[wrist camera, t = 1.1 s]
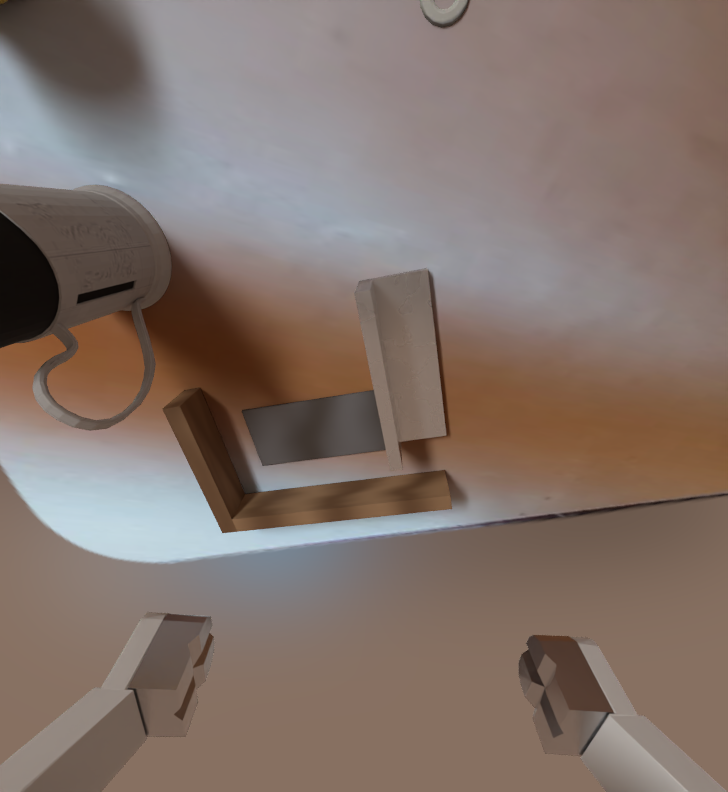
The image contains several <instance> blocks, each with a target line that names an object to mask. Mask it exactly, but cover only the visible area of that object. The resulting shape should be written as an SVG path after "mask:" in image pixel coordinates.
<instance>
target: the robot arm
mask: <svg viewBox="0 0 728 792" xmlns="http://www.w3.org/2000/svg"><path fill="white" fill-rule="evenodd" d="M211 627H212V621H211V617H210V616H195V615H179V614H169V613H152V612H148V613H146V614H145V615H144V617H143V618H142V619H141V620H140V621H139V624H138V625H137V627H136V629H135V630H134V632H133V633H132V635H131V637H130V639H129V641H128V642H127V644H126V646H125V647H124V649H123V651H122V653H121V654H120V656H119V658H118V660H117V661H116V663H115V665H114V666H113V668H112V670H111V672H110V674H109V675H108V677H107V679H106V680H105V682H104V684H103V685H102V687H101V688H93V689H92V690H91V691H90V692H88V693H87V694H86V695H85V696H84V697H82V698H81V699H80V700H79V701H78V702H76V703H75V704H74V705H73V706H71V707H70V708H69V709H68V710H67V711H65V712H64V713H63V714H62V715H61V716H59V717H58V718H57V719H56V720H54V721H53V722H52V723H51V724H50V725H49V726H47V727H46V728H45V729H44V730H42V731H41V732H40V733H39V734H37V735H36V736H35V737H34V738H33V739H31V740H30V741H29V742H28V743H27V744H25V745H24V746H23V747H22V748H20V749H19V750H18V751H17V752H16V753H14V754H13V755H12V756H11V757H10V758H8V759H7V760H6V761H5V762H3V763H2V764H1V765H0V792H102V790H103V789H104V788H105V787H106V786H107V785H108V783H109V782H110V781H111V780H112V779H113V778H114V777H115V775H116V774H117V773H118V772H119V771H120V770H121V769H122V767H123V766H124V765H125V764H126V763H127V762H128V760H129V759H130V758H131V757H132V756H133V755H134V754H135V753H136V751H137V750H138V749H139V748H140V747H141V746H142V744H143V743H144V742H145V741H146V739H147V737H148V736H149V737H186V735H187V732H188V729H189V726H190V723H191V720H192V718H193V715H194V712H195V710H196V707H197V704H198V699H197V691H196V690H197V688H199V687H200V686H201V684H203V683H204V682H205V681H206V678H207V675H208V672H209V669H210V666H211V662H212V658H213V653H214V637H213V636H212V635H211V634H210V630H211ZM526 644H527V646H528V648H529V650H527V651H526V652H524V653H523V654H522V655H521V657H520V660H519V678H520V683H521V686H522V690H523V693H524V695H525V697H526V699H527V700H528V701H529V702H530V703H531V704H532V705H533V706H534V708H535V710H534V714H533V721H534V724H535V727H536V730H537V733H538V735H539V738H540V741H541V744H542V747H543V750H544V752H545V753H546V754H559V755H571V756H582V757H581V758H580V759H581V760H582V762H583V763H584V764H585V765H586V767H587V768H588V769H589V770H590V772H591V773H592V774H593V776H594V777H595V778H596V779H597V780H598V782H599V783H600V785H601V786H602V787H603V788H604V790H605V791H606V792H727V791H726V790H725V789H724V788H722V787H721V786H720V785H719V784H718V783H717V782H716V781H715V780H714V779H713V778H712V777H710V776H709V775H708V774H707V773H706V772H705V771H704V770H703V769H702V768H701V767H700V766H698V765H697V764H696V763H695V762H694V761H693V760H692V759H691V758H690V757H689V756H688V755H686V754H685V753H684V752H683V751H682V750H681V749H680V748H679V747H678V746H677V745H676V744H674V743H673V742H672V741H671V740H670V739H669V738H668V737H667V736H666V735H665V734H663V733H662V732H661V731H660V730H659V729H658V728H657V727H656V726H655V725H654V724H653V723H652V722H650V721H649V720H648V719H647V718H646V717H645V716H643V715H638V714H637V713H636V711H635V709H634V708H633V706H632V704H631V702H630V701H629V699H628V697H627V695H626V694H625V692H624V690H623V688H622V687H621V685H620V683H619V682H618V680H617V678H616V676H615V675H614V673H613V671H612V669H611V668H610V666H609V664H608V663H607V661H606V659H605V657H604V656H603V654H602V652H601V650H600V649H599V647H598V645H597V644H596V643H595V642H594V641H593V640H592V639H590V638H583V637H569V636H546V635H532V636H530V637H529V639H528V641H527V643H526Z"/></svg>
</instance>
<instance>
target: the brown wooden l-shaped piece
mask: <svg viewBox="0 0 728 792" xmlns="http://www.w3.org/2000/svg"><path fill="white" fill-rule="evenodd" d="M163 411H164V413H165V415H166V417H167V420H168V422H169V424H170V426H171V428H172V430H173V432H174V434H175V436H176V438H177V440H178V442H179V444H180V446H181V448H182V450H183V452H184V455H185V457H186V459H187V461H188V463H189V465H190V467H191V469H192V471H193V473H194V475H195V477H196V479H197V481H198V483H199V485H200V487H201V490H202V492H203V494H204V496H205V498H206V500H207V502H208V504H209V506H210V508H211V510H212V512H213V514H214V516H215V518H216V520H217V522H218V525H219V527H220V529H221V531H222V533H228V532H237V531H247V530H256V529H266V528H275V527H285V526H294V525H304V524H313V523H323V522H332V521H342V520H351V519H361V518H370V517H380V516H389V515H399V514H408V513H418V512H427V511H437V510H446V509H452V504H451V496H450V491H449V487H448V483H447V478H446V474H445V470H442V471H433V472H425V473H416V474H408V475H400V476H391V477H383V478H375V479H366V480H358V481H350V482H341V483H333V484H325V485H316V486H308V487H299V488H291V489H283V490H274V491H266V492H258V493H249V494H245V493H244V490H243V488H242V486H241V483H240V481H239V478H238V476H237V474H236V471H235V469H234V467H233V464H232V462H231V460H230V457H229V455H228V452H227V450H226V448H225V445H224V443H223V441H222V438H221V436H220V434H219V431H218V429H217V427H216V424H215V422H214V419H213V417H212V415H211V412H210V410H209V408H208V405H207V403H206V401H205V398H204V396H203V394H202V391H201V389H200V388H195V389H189V390H184V391H183V392H182V393H181V394H179V395H178V396H177V397H176V398H175V399H174V400H172V401H171V402H170V403H169V404H168V405H166V406H165V407H164V408H163ZM242 413H243V416H244V418H245V421H246V424H247V426H248V429H249V431H250V434H251V437H252V439H253V442H254V445H255V447H256V450H257V452H258V455H259V458H260V460H261V463H262V465H263V466H264V465H272V464H279V463H287V462H295V461H302V460H310V459H318V458H326V457H333V456H341V455H349V454H356V453H364V452H372V451H379V450H386V448H385V443H384V438H383V433H382V428H381V423H380V418H379V413H378V408H377V403H376V398H375V393H374V390H372V391H365V392H359V393H352V394H346V395H339V396H333V397H326V398H319V399H313V400H306V401H300V402H293V403H287V404H280V405H273V406H267V407H260V408H254V409H247V410H242Z"/></svg>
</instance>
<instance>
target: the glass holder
mask: <svg viewBox="0 0 728 792" xmlns="http://www.w3.org/2000/svg"><path fill="white" fill-rule="evenodd" d="M171 269H172V263H171V254H170V250H169V247H168V243H167V241H166V238H165V236H164V234H163V232H162V230H161V228H160V227H159V225H158V223H157V222H156V220H155V219H154V218H153V217H152V215H151V214H150V213H149V212H148V211H147V210H146V209H145V208H144V207H143V206H142V205H141V204H140V203H139V202H138V201H136V200H135V199H133V198H132V197H131V196H129V195H127V194H125V193H123V192H122V191H120V190H117V189H114V188H111V187H108V186H102V185H86V186H82V187H79V188H75V189H74V190H66V189H55V188H43V187H32V186H20V185H9V184H0V348H2V347H5V346H8V345H11V344H14V343H25V342H29V341H33V340H36V339H39V338H42V337H45V336H48V335H51V334H54V335H55V336H56V337H58V338H59V339H60V340H61V341H62V342H63V344H64V345H65V347H66V348H67V351H65V352H63V353H61V354H58V355H56V356H54V357H53V358H51V359H49V360H48V361H46V362H45V363H44V364H43V365H42V366H41V368H40V369H39V370H38V371H37V373H36V374H35V375H34V382H33V392H34V395H35V399H36V401H37V402H38V403H39V405H40V406H41V407H42V409H43V410H44V411H45V412H46V413H48V414H49V415H51V416H52V417H53V418H55V419H56V420H58V421H60V422H62V423H65V424H67V425H69V426H71V427H74V428H79V429H85V430H90V431H91V430H99V429H107V428H109V427H111V426H113V425H115V424H117V423H118V422H120V421H122V420H124V419H125V418H126V417H127V416H128V415H129V414H130V413H132V412H133V411H134V410H135V409H136V408H137V407H138V406H139V405H141V403H142V402H143V400H144V398H145V397H146V395H147V394H148V392H149V390H150V387H151V384H152V380H153V377H154V371H155V365H156V364H155V358H154V353H153V350H152V346H151V342H150V338H149V334H148V331H147V328H146V325H145V322H144V319H143V315H142V311H141V309H144V308H147V307H149V306H151V305H153V304H154V303H156V302H157V301H158V300H159V299H160V298H161V297H162V296H163V294H164V293H165V291H166V289H167V287H168V285H169V282H170V278H171ZM120 310H124V311H132V317H133V321H134V324H135V328H136V331H137V334H138V337H139V340H140V344H141V348H142V352H143V357H144V365H145V371H144V378H143V382H142V386H141V389H140V391H139V393H138V395H137V396H136V398H135V399H134V401H133V403H132V404H131V405H129V406H128V407H127V408H126V409H125V410H124V411H123V412H122V413H120V414H118V415H116V416H114V417H112V418H110V419H103V420H93V419H88V418H84V417H80V416H78V415H76V414H74V413H72V412H70V411H68V410H66V409H65V408H63V407H62V406H61V405H59V404H58V403H57V402H56V401H55V400H54V399H53V397H52V396H51V395H50V393H49V390H48V386H47V375H48V374H49V372H50V371H51V370H52V369H53V368H55V367H56V366H58V365H60V364H62V363H64V362H65V361H67V360H68V359H70V358H71V357H72V356H73V355H74V354H75V353H76V351H77V349H78V342H77V340H76V339H75V337H74V336H73V335H72V334H71V332H70V331H69V330H68V328H71V327H74V326H77V325H80V324H82V323H85V322H88V321H91V320H94V319H97V318H100V317H103V316H105V315H108V314H111V313H114V312H117V311H120Z"/></svg>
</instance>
